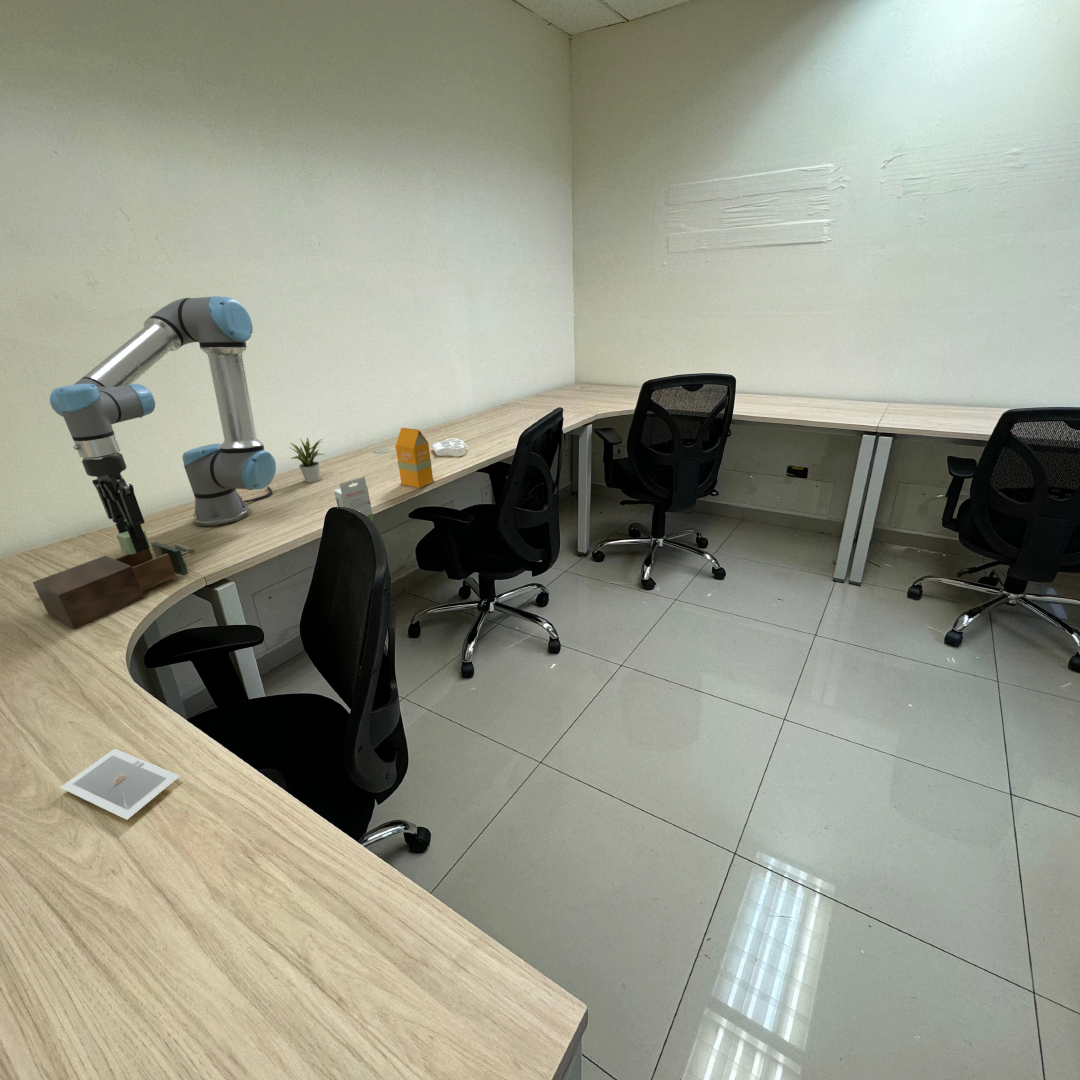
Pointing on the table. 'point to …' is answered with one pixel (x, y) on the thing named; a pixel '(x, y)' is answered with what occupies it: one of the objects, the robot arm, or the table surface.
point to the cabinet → (89, 591)
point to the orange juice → (413, 458)
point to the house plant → (308, 461)
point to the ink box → (354, 496)
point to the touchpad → (120, 783)
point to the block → (128, 542)
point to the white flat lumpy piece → (450, 447)
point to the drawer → (157, 564)
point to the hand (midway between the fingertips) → (137, 548)
